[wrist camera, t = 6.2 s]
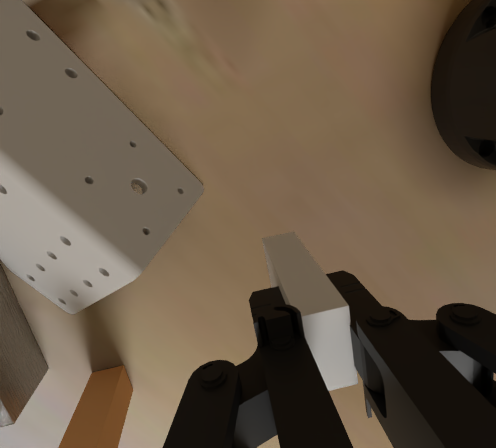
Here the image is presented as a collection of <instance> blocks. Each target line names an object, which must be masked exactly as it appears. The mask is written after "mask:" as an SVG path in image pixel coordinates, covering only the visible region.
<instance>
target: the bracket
mask: <svg viewBox="0 0 496 448" xmlns="http://www.w3.org/2000/svg"><path fill="white" fill-rule="evenodd" d="M69 76H70V77H69ZM86 182H87V183H86ZM131 183H136V184H138V185H139V186H140V187H141V188H142V191H143V194H138V193H136V192H135V191H134V190H133V189H132V187H131ZM203 191H204V188H203V185H202V183H201V182H200V181H199V180H198V179H197V178H196V177H195V176H194V175H193V174H192V173H191V172H190V171H189V170H188V169H187V168H186V167H185V166H184V165H183V164H182V163H181V162H180V161H179V160H178V159H177V158H176V157H175V156H174V155H173V154H172V153H171V152H170V151H169V150H168V148H167V147H166V146H165V145H164V144H163V143H162V142H161V141H160V140H159V139H158V138H157V137H156V136H155V135H154V134H153V133H152V132H151V131H150V130H149V129H148V128H147V127H146V126H145V125H144V124H143V123H142V122H141V121H140V120H139V119H138V118H137V117H136V116H135V115H134V114H133V113H132V112H131V111H130V110H129V109H128V108H127V107H126V106H125V105H124V104H123V103H122V102H121V101H120V100H119V99H118V98H117V97H116V96H115V95H114V94H113V93H112V92H111V91H110V90H109V89H108V88H107V87H106V85H105V84H104V83H103V82H102V81H101V80H100V79H99V78H98V77H97V76H96V75H95V74H94V73H93V72H92V71H91V70H90V69H89V68H88V67H87V66H86V65H85V64H84V63H83V62H82V61H81V60H80V59H79V58H78V57H77V56H76V55H75V54H74V53H73V52H72V51H71V50H70V49H69V48H68V47H67V46H66V45H65V44H64V43H63V42H62V41H61V40H60V39H59V38H58V37H57V36H56V35H55V34H54V33H53V32H52V31H51V30H50V29H49V28H48V27H47V26H46V25H45V24H44V22H43V21H42V20H41V19H40V18H39V17H38V16H37V15H36V14H35V13H34V12H33V11H32V10H31V9H30V8H29V7H28V6H27V5H26V4H25V3H24V2H23V1H22V0H0V260H1V261H2V262H3V263H4V264H5V265H6V267H7V268H8V269H9V270H10V271H11V272H13V273H14V274H15V275H17V276H18V277H19V278H21V279H22V280H24V281H25V282H26V283H28V284H29V285H30V286H32V287H33V288H34V289H36V290H37V291H38V292H40V293H41V294H42V295H44V296H45V297H47V298H48V299H49V300H51V301H52V302H53V303H55V304H56V305H57V306H59V307H60V308H61V309H63V310H64V311H66V312H67V313H69V314H75V313H77V312H79V311H81V310H83V309H84V308H86V307H88V306H90V305H91V304H93V303H95V302H97V301H98V300H100V299H102V298H104V297H106V296H107V295H109V294H111V293H113V292H114V291H116V290H118V289H120V288H121V287H123V286H125V285H127V284H128V283H130V282H132V281H134V280H135V279H136V278H137V277H138V276H139V275H140V274H141V273H142V272H143V270H144V269H145V268H146V267H147V265H148V264H149V263H150V261H151V260H152V259H153V257H154V256H155V255H156V254H157V252H158V251H159V250H160V248H161V247H162V246H163V244H164V243H165V242H166V240H167V239H168V238H169V237H170V235H171V234H172V233H173V231H174V230H175V229H176V227H177V226H178V225H179V223H180V222H181V221H182V220H183V218H184V217H185V216H186V214H187V213H188V212H189V210H190V209H191V208H192V206H193V205H194V204H195V203H196V201H197V200H198V199H199V197H200V196H201V195H202V193H203Z"/></svg>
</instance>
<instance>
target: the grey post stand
mask: <svg viewBox="0 0 496 448" xmlns="http://www.w3.org/2000/svg"><path fill="white" fill-rule="evenodd" d="M47 371H48V367H47V364H46V362H45V360H44V358H43V356H42V353H41V351H40V349H39V347H38V345H37V343H36V340H35V338H34V336H33V334H32V332H31V330H30V327H29V325H28V323H27V321H26V319H25V317H24V314H23V312H22V310H21V308H20V306H19V303H18V301H17V299H16V297H15V295H14V293H13V290H12V288H11V286H10V284H9V282H8V280H7V277H6V275H5V273H4V271H3V269H2V267H1V264H0V427H4V426H8V425H12V424H14V423H15V421H16V420H17V418H18V417H19V415H20V413H21V412H22V410H23V409H24V407H25V405H26V404H27V402H28V401H29V399H30V398H31V396H32V394H33V393H34V391H35V390H36V388H37V386H38V385H39V383H40V382H41V380H42V378H43V377H44V375H45V374H46V372H47Z"/></svg>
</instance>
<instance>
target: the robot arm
mask: <svg viewBox="0 0 496 448" xmlns="http://www.w3.org/2000/svg"><path fill="white" fill-rule="evenodd" d="M431 100H432V109H433V115H434V119H435V122H436V125H437V128H438V130H439V132H440V135H441V136H442V138H443V140H444V141H445V143H446V144H447V146H448V147H449V148H450V149H451V150H452V151H453V152H454V153H455V154H456V155H457V156H458V157H460V158H461V159H463V160H464V161H466V162H468V163H470V164H472V165H475V166H478V167H481V168H486V169H492V170H496V0H472V1H471V2H470V3H469V4H468V5H467V6H466V7H465V8H464V10H463V11H462V12H461V13H460V14H459V16H458V17H457V19H456V20H455V21H454V23H453V24H452V26H451V28H450V29H449V31H448V33H447V35H446V37H445V39H444V41H443V43H442V45H441V48H440V50H439V53H438V56H437V59H436V63H435V67H434V71H433V77H432V87H431ZM262 241H263V246H264V251H265V257H266V262H267V267H268V272H269V277H270V282H271V287H272V288H268V289H264V290H259V291H255V292H253V293H252V295H251V297H250V299H249V303H250V308H251V312H252V317H253V324H254V328H255V333H256V337H257V342H258V346H257V349H256V351H255V353H254V354H253V355H252V356H251V357H250V358H249V359H248V360H246V361H245V362H243V363H241V364H239V365H237V366H235V365H234V364H233V363H231V362H229V361H226V360H216V361H211V362H208V363H206V364H204V365H202V366H200V367H199V368H198V369H197V370H195V371H194V372H193V374H192V375H191V377H190V378H189V380H188V383H187V386H186V388H185V391H184V393H183V396H182V399H181V401H180V404H179V406H178V409H177V412H176V414H175V417H174V419H173V422H172V425H171V427H170V430H169V433H168V435H167V438H166V440H165V443H164V446H163V448H257V447H258V446H259V445H261V444H263V443H264V442H266V441H267V440H269V439H271V438H272V437H274V436H276V435H277V434H278V439H279V444H280V448H353V446H352V444H351V442H350V439H349V437H348V435H347V432H346V430H345V428H344V425H343V423H342V421H341V419H340V416H339V414H338V412H337V409H336V407H335V405H334V403H333V400H332V398H331V396H330V393H329V391H330V390H334V389H338V388H342V387H346V386H351V385H355V384H358V380H357V371H358V373H359V375H360V376H361V378H362V380H363V387H364V395H365V404H366V412H367V416H368V418H370V417H372V413H371V408H372V409H373V411H374V413H375V415H376V417H377V418H378V420H379V422H380V424H381V426H382V427H383V429H384V431H385V433H386V435H387V436H388V438H389V440H390V442H391V444H392V446H393V447H394V448H496V381H494V380H493V375H494V373H496V314H494V313H492V312H490V311H487V310H485V309H483V308H480V307H478V306H475V305H470V304H464V303H452V304H448V305H444V306H442V307H441V308H439V309H438V311H437V314H436V320H408V319H407V318H406V317H405V316H404V315H403V314H402V313H401V312H399V311H398V310H396V309H393V308H390V307H384V306H381V304H380V303H379V302H378V301H377V300H376V299H375V298H374V297H373V296H372V295H371V294H370V292H369V291H368V290H367V289H365V287H364V286H363V285H362V284H361V283H360V282H359V280H358V279H357V278H356V277H355V276H354V275H352V274H350V273H348V272H345V271H338V272H334V273H330V274H325V273H324V272H323V270H322V269H321V267H320V266H319V265H318V263H317V262H316V261H315V259H314V258H313V257H312V255H311V254H310V253H309V251H308V250H307V249H306V247H305V246H304V245H303V243H302V242H301V240H300V239H299V238H298V236H297V235H296V234H295V232H289V233H285V234H280V235H276V236H271V237H267V238H262ZM356 369H357V371H356Z"/></svg>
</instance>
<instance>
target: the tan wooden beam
mask: <svg viewBox="0 0 496 448" xmlns="http://www.w3.org/2000/svg"><path fill="white" fill-rule="evenodd" d="M132 392H133V388H132V386H131V383H130V380H129V378H128V375H127V372H126V370H125V367H124V365H122V366H118V367H114V368H110V369H105V370H101V371H97V372H93V373H92V374H91V376H90V378H89V381H88V383H87V385H86V387H85V389H84V392H83V394H82V396H81V398H80V401H79V403H78V405H77V407H76V410H75V412H74V414H73V416H72V419H71V421H70V423H69V425H68V427H67V430H66V432H65V434H64V436H63V439H62V441H61V443H60V445H59V448H118V444H119V441H120V437H121V433H122V429H123V426H124V422H125V418H126V414H127V411H128V407H129V403H130V400H131V396H132Z"/></svg>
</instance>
